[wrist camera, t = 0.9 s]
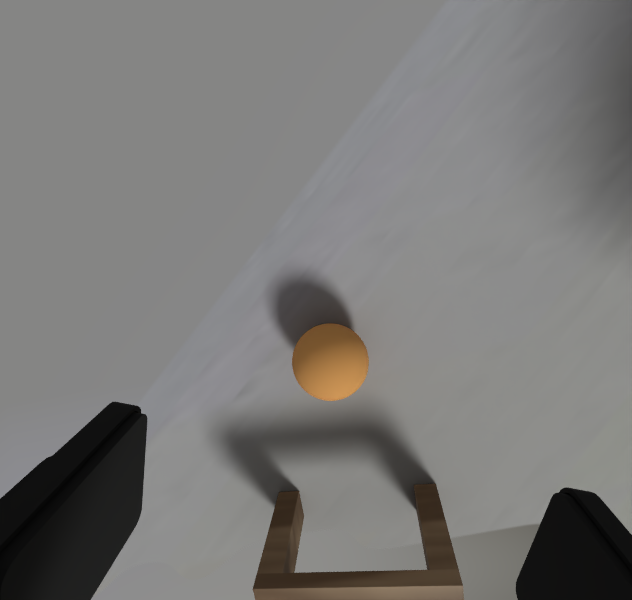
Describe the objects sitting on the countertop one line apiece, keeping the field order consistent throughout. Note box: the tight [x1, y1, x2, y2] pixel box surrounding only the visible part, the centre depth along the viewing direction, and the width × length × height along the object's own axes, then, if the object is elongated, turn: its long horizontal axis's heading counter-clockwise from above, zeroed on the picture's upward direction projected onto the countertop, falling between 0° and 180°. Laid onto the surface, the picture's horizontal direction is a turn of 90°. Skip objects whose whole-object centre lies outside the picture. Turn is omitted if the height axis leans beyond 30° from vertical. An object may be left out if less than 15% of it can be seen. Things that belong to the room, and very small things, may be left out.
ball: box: [292, 323, 369, 401], centre depth 30 cm, size 6×6×6 cm
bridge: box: [253, 484, 464, 600], centre depth 32 cm, size 3×15×10 cm, turn 99°
